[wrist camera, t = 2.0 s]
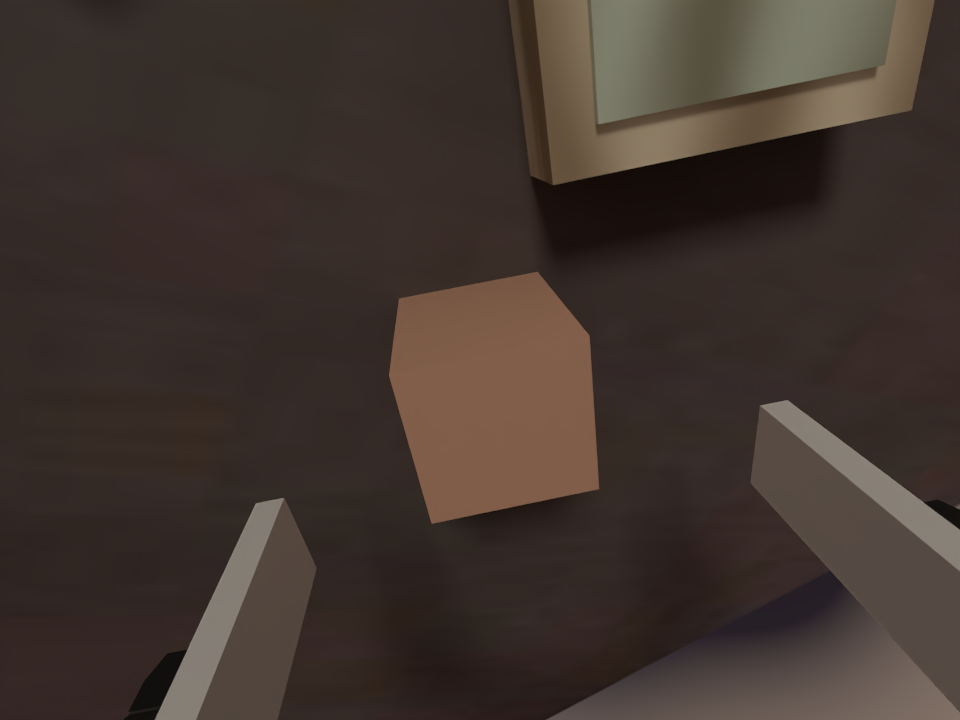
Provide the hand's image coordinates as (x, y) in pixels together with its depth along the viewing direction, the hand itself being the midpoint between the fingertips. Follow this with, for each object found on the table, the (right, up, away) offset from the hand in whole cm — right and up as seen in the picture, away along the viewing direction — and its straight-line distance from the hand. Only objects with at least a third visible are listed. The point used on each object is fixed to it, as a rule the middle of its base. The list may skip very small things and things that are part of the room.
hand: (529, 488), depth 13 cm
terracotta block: (-1, +4, +8) cm, 9 cm away
